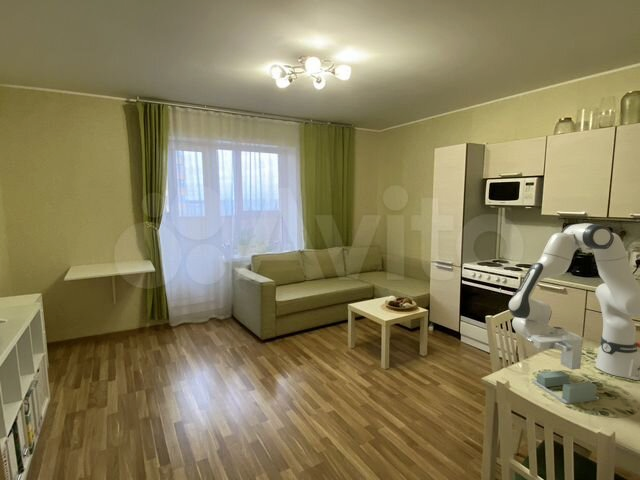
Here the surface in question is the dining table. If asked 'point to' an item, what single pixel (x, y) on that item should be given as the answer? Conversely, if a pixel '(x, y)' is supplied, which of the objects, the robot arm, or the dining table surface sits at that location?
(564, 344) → the steel block
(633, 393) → the dining table surface
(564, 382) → the block
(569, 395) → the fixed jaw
